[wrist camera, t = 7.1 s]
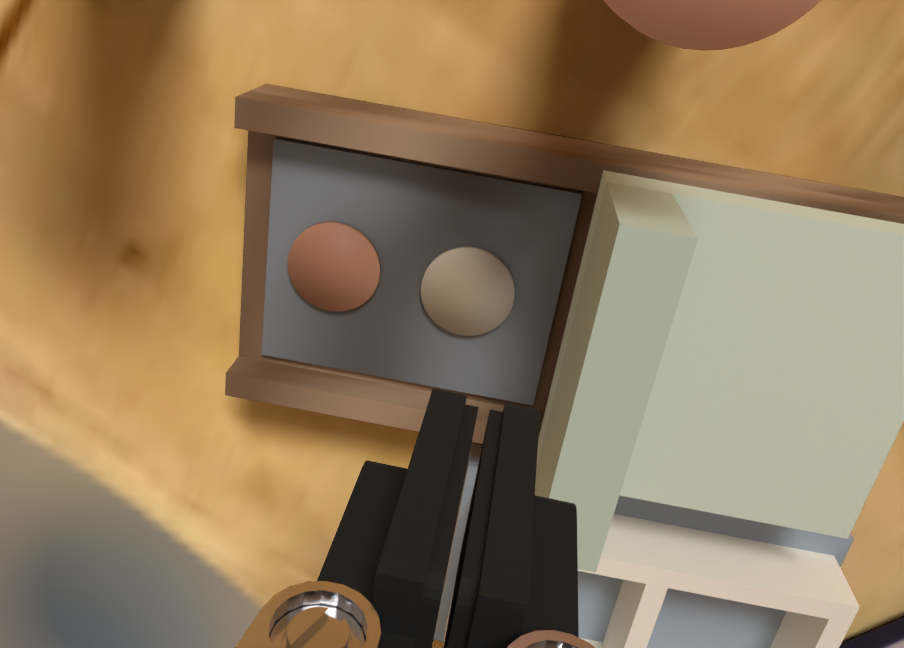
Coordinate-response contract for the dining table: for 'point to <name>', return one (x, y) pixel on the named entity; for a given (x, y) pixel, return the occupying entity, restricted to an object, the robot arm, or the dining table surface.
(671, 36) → the terracotta peg
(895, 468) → the dining table surface
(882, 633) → the cereal box
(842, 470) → the lid
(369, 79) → the dining table surface
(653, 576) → the socket board
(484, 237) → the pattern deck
